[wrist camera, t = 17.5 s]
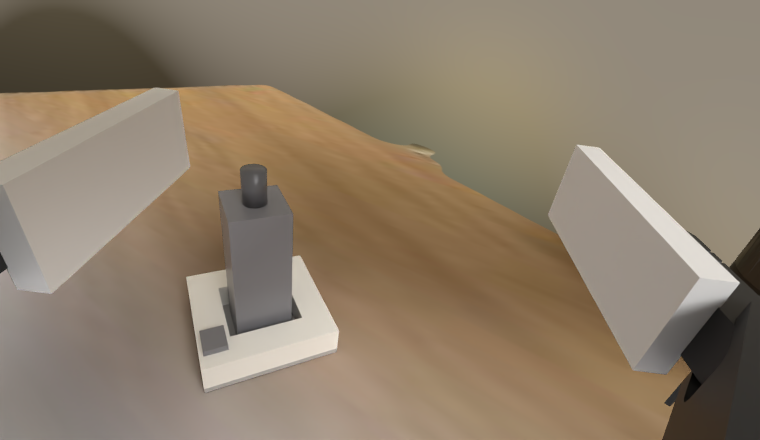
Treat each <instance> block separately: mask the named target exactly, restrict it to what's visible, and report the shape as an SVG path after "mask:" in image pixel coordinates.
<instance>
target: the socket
mask: <svg viewBox="0 0 760 440" xmlns="http://www.w3.org/2000/svg"><path fill="white" fill-rule="evenodd" d="M186 279H187V286H188V292H189V298H190V305H191V311H192V317H193V324H194V330H195V336H196V343H197V349H198V355H199V362H200V368H201V374H202V380H203V386H204V392H205V393H206V392H209V391H213V390H216V389H219V388H222V387H225V386H229V385H232V384H235V383H238V382H241V381H245V380H248V379H251V378H254V377H257V376H261V375H264V374H267V373H270V372H273V371H277V370H280V369H283V368H286V367H289V366H293V365H296V364H299V363H302V362H305V361H308V360H312V359H315V358H318V357H321V356H324V355H328V354H331V353H334V352H337V344H338V335H339V330H338V328H337V326H336V324H335V322H334V320H333V318H332V316H331V314H330V312H329V310H328V308H327V307H326V305H325V303H324V301H323V299H322V297H321V295H320V293H319V291H318V289H317V287H316V285H315V283H314V281H313V279H312V278H311V276H310V274H309V272H308V270H307V268H306V266H305V264H304V262H303V260H302V258H301V256H300V255H299V256H294V257H292V311H291V321H288V322H284V323H280V324H276V325H272V326H269V327H265V328H261V329H257V330H253V331H250V332H246V333H242V334H238V335H236V333H235V329H234V325H233V321H232V317H231V313H230V308H229V297H228V287H227V277H226V269H225V270H220V271H215V272H210V273H204V274H199V275H194V276H188V277H186Z"/></svg>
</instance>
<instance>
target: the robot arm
mask: <svg viewBox="0 0 760 440" xmlns="http://www.w3.org/2000/svg"><path fill="white" fill-rule="evenodd" d="M189 168H190V163H189V156H188V150H187V143H186V137H185V131H184V124H183V118H182V111H181V105H180V99H179V92H178V91H177V90H169V89H162V88H153V89H151V90H149V91H147V92H144V93H142V94H140V95H138V96H136V97H134V98H132V99H130V100H128V101H126V102H123V103H121V104H119V105H117V106H115V107H113V108H111V109H109V110H107V111H104V112H102V113H100V114H98V115H96V116H94V117H92V118H90V119H88V120H86V121H83V122H81V123H79V124H77V125H75V126H73V127H71V128H69V129H67V130H64V131H62V132H60V133H58V134H56V135H54V136H52V137H50V138H48V139H46V140H43V141H41V142H39V143H37V144H35V145H33V146H31V147H29V148H27V149H25V150H22V151H20V152H18V153H16V154H14V155H12V156H10V157H8V158H6V159H3V160H1V161H0V273H1V272H3V271H4V270H5V269H7V270H8V272H9V274H10V276H11V278H12V280H13V282H14V284H15V286H16V288H17V290H24V291H32V292H40V293H47V294H52V293H53V292H54V291H56V290H57V289H58V288H59V287H60V286H61V285H62V284H63V283H64V282H65V281H66V280H68V279H69V278H70V277H71V276H72V275H73V274H74V273H75V272H76V271H77V270H79V269H80V268H81V267H82V266H83V265H84V264H85V263H86V262H87V261H88V260H89V259H91V258H92V257H93V256H94V255H95V254H96V253H97V252H98V251H99V250H100V249H101V248H103V247H104V246H105V245H106V244H107V243H108V242H109V241H110V240H111V239H112V238H114V237H115V236H116V235H117V234H118V233H119V232H120V231H121V230H122V229H123V228H124V227H126V226H127V225H128V224H129V223H130V222H131V221H132V220H133V219H134V218H135V217H137V216H138V215H139V214H140V213H141V212H142V211H143V210H144V209H145V208H146V207H147V206H149V205H150V204H151V203H152V202H153V201H154V200H155V199H156V198H157V197H158V196H160V195H161V194H162V193H163V192H164V191H165V190H166V189H167V188H168V187H169V186H170V185H172V184H173V183H174V182H175V181H176V180H177V179H178V178H179V177H180V176H181V175H182V174H184V173H185V172H186V171H187V170H188V169H189ZM548 217H549V218H550V220H551V221H552V224H553V226H554V227H555V229H556V231H557V233H558V235H559V237H560V238H561V240H562V242H563V244H564V246H565V248H566V249H567V251H568V253H569V255H570V257H571V258H572V260H573V262H574V264H575V266H576V268H577V269H578V271H579V273H580V275H581V277H582V278H583V280H584V282H585V284H586V286H587V288H588V289H589V291H590V293H591V295H592V297H593V299H594V300H595V302H596V304H597V306H598V308H599V309H600V311H601V313H602V315H603V317H604V319H605V320H606V322H607V324H608V326H609V328H610V329H611V331H612V333H613V335H614V337H615V339H616V340H617V342H618V344H619V346H620V348H621V349H622V351H623V353H624V355H625V357H626V359H627V360H628V362H629V364H630V366H631V368H632V369H633V370H635V371H643V372H650V373H658V374H667V373H668V372H669V371H670V370H671V368H672V367H673V366H674V365H675V363H676V362H677V361H678V360H679V358H680V357H681V356H682V358H683V359H684V361H685V362H686V363H687V365H688V366H689V368H690V369H691V372H690V373H689V375H688V376H687V377H686V378H685V379H684V380H683V382H682V383H681V384H680V385H679V386H678V387H677V389H676V390H675V391H674V392H673V393H672V394H671V396H670V397H669V398H668V399H667V400H666V402H665V404H667V405H668V406H671V405H672V404H673V403H674V402H675V404H674V407H673V410H672V413H671V416H670V419H669V422H668V425H667V427H666V430H665V433H664V436H663V439H662V440H760V229H759V230H758V231H757V233H756V234H755V235H754V236H753V238H752V239H751V240H750V242H749V243H748V244H747V245H746V247H745V248H744V249H743V250H742V252H741V253H740V254H739V255H738V257H737V258H736V260H735V261H734V262H733V264H732V265H731V266H730V267H728V266H727V265H726V264H724V263H722V260H721V259H719V258H718V257H717V256H716V255H715V254H714V253H711V252H710V251H711V250H710V249H709V248H708V247H707V246H706V245H705V244H704V243H703V242H702V241H700V240H699V239H698V238H697V237H696V236H694V235H692V234H691V233H689V232H688V231H686V230H685V229H683V228H682V227H681V226H680V225H679V224H678V223H677V222H676V221H675V220H674V219H673V218H672V217H671V216H670V215H669V214H668V213H667V212H666V211H665V210H664V209H663V208H662V207H661V206H660V205H659V204H657V203H656V202H655V201H654V200H653V199H652V198H651V197H650V196H649V195H648V194H647V193H646V192H645V191H644V190H643V189H642V188H641V187H640V186H639V185H638V184H637V183H636V182H635V181H634V180H632V179H631V178H630V177H629V176H628V175H627V174H626V173H625V172H624V171H623V170H622V169H621V168H620V167H619V166H618V165H617V164H616V163H615V162H614V161H613V160H612V159H611V158H610V157H609V156H608V155H606V154H605V153H604V152H603V151H602V150H601V149H600V148H598V147H590V146H583V145H576V147H575V150H574V152H573V155H572V157H571V159H570V162H569V165H568V167H567V169H566V172H565V174H564V177H563V179H562V181H561V184H560V186H559V189H558V191H557V194H556V197H555V199H554V201H553V204H552V206H551V208H550V211H549V214H548Z"/></svg>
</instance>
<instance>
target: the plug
mask: <svg viewBox="0 0 760 440" xmlns="http://www.w3.org/2000/svg"><path fill="white" fill-rule="evenodd" d="M240 176H241V189H235V190H225V191H218V195H219V205H220V215H221V225H222V236H223V246H224V256H225V266H226V277H227V287H228V297H229V308H230V313H231V317H232V321H233V325H234V329H235V333H236V335H238V334H242V333H246V332H250V331H253V330H257V329H261V328H265V327H269V326H272V325H276V324H280V323H284V322H288V321H291V311H292V253H293V213H292V211H291V209H290V207H289V205H288V204H287V202H286V200H285V198H284V196H283V195H282V193H281V191H280V189H279V187H278V186H277V185H274V186H267V169H266V167H264V166H262V165H259V164H248V165H244V166H242V167H241V168H240Z"/></svg>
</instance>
